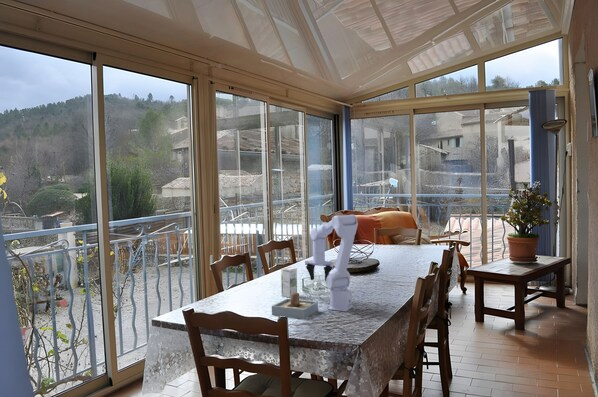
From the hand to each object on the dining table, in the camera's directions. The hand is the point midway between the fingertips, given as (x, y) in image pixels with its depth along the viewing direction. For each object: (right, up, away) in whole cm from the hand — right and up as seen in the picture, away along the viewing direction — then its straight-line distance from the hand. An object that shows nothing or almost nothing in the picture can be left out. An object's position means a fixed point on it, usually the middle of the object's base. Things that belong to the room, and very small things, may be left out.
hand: (319, 280), depth 243 cm
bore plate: (-12, -11, -20) cm, 26 cm away
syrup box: (-15, -10, +11) cm, 21 cm away
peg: (-12, -11, -20) cm, 26 cm away
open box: (-12, -11, -20) cm, 26 cm away
